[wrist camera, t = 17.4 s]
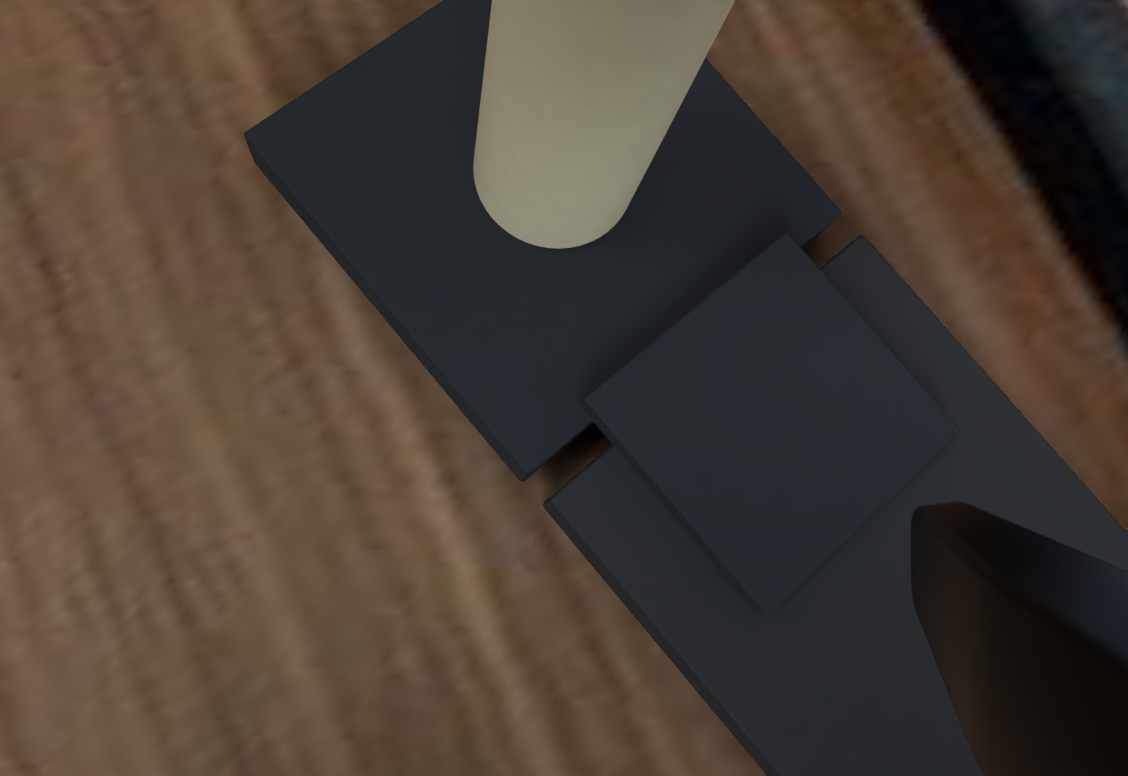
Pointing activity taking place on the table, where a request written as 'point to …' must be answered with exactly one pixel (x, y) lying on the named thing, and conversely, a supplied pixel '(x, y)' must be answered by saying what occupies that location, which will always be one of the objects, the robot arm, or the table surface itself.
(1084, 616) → the robot arm
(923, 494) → the base pad
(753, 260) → the tongue pad
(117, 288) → the table surface
